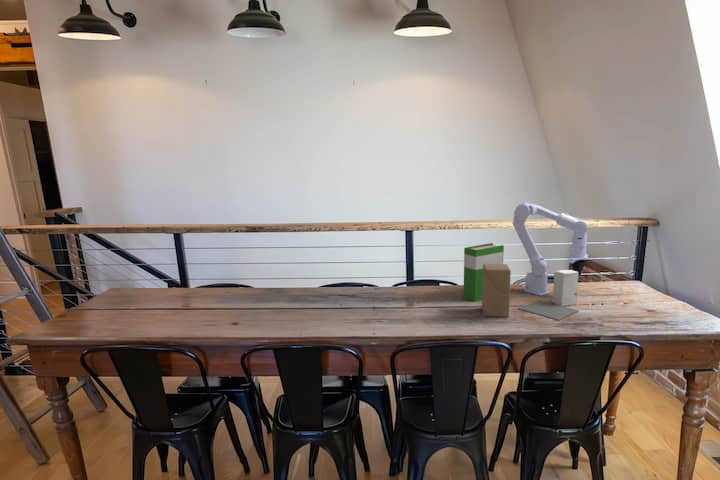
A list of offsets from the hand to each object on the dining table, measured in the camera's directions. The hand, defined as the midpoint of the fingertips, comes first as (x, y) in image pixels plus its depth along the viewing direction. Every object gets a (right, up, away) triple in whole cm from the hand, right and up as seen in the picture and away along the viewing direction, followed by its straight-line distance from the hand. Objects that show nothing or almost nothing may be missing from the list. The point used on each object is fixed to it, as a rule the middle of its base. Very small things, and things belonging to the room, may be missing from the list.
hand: (577, 275), depth 198 cm
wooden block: (-42, -15, -15) cm, 47 cm away
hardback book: (-41, -10, +7) cm, 43 cm away
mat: (-19, -13, -14) cm, 28 cm away
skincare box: (-9, -12, -6) cm, 16 cm away
